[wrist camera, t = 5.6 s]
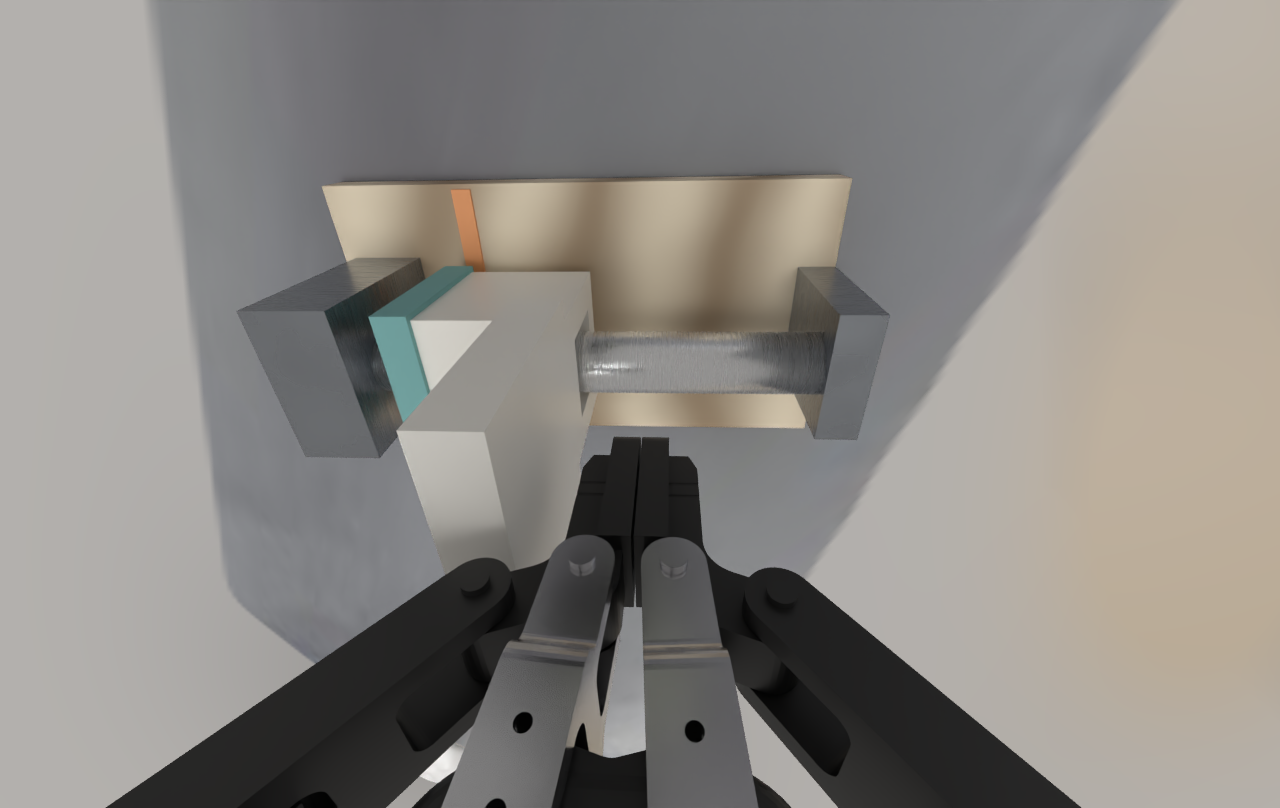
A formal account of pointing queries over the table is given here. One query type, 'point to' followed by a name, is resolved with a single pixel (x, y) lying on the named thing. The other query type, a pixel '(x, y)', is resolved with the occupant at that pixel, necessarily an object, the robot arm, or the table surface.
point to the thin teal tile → (410, 336)
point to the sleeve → (500, 415)
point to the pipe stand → (597, 299)
